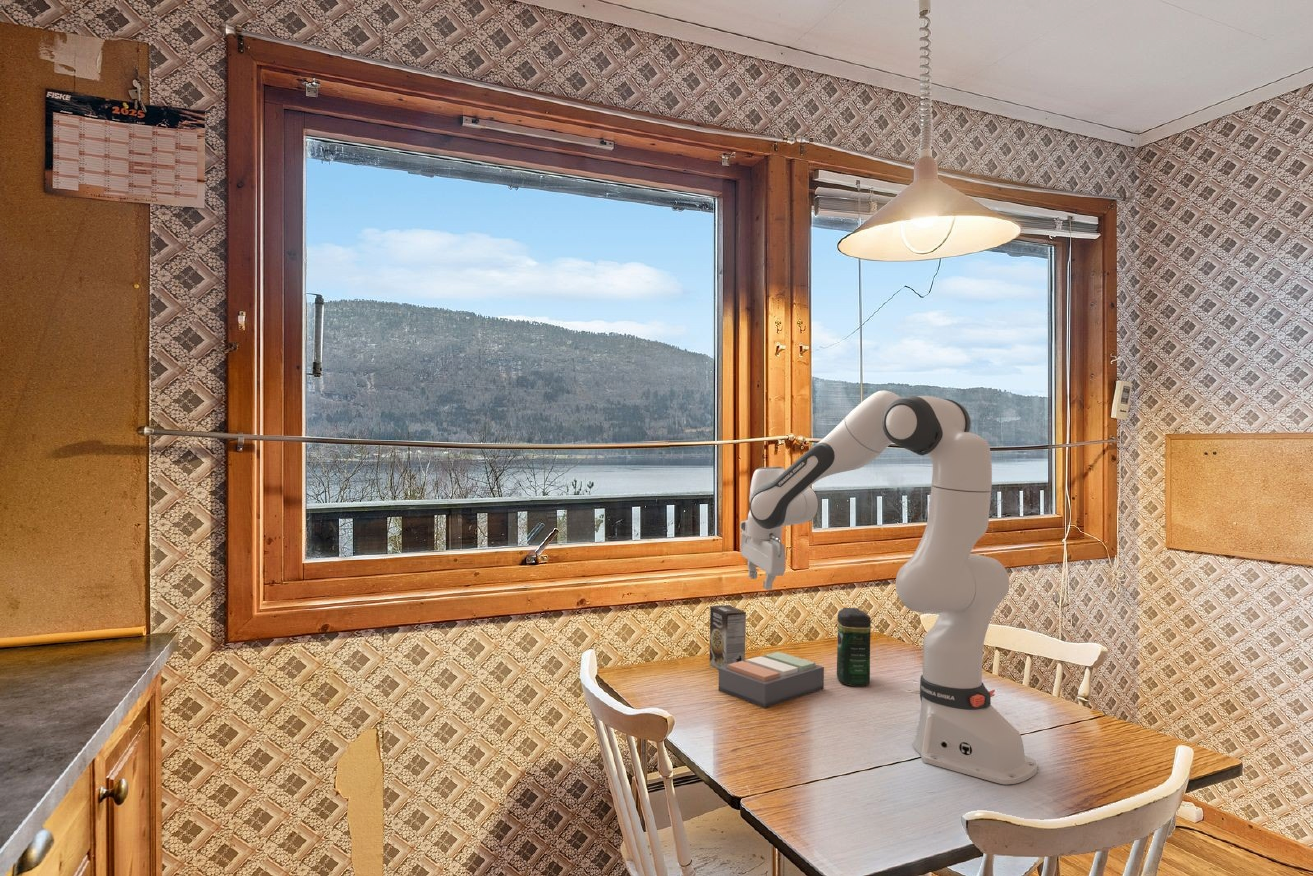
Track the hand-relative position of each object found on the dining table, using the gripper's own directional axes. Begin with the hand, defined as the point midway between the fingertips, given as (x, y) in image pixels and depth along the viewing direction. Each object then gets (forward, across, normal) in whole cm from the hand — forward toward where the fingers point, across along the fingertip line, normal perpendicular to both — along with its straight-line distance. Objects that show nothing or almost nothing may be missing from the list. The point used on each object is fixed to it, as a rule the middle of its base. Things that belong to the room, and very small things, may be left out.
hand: (759, 583), depth 185 cm
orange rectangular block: (+22, -9, +4) cm, 24 cm away
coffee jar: (+25, -5, -26) cm, 36 cm away
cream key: (+22, -6, -2) cm, 23 cm away
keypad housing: (+25, -7, -2) cm, 26 cm away
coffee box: (+28, +13, +2) cm, 30 cm away
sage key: (+22, -4, -9) cm, 24 cm away
